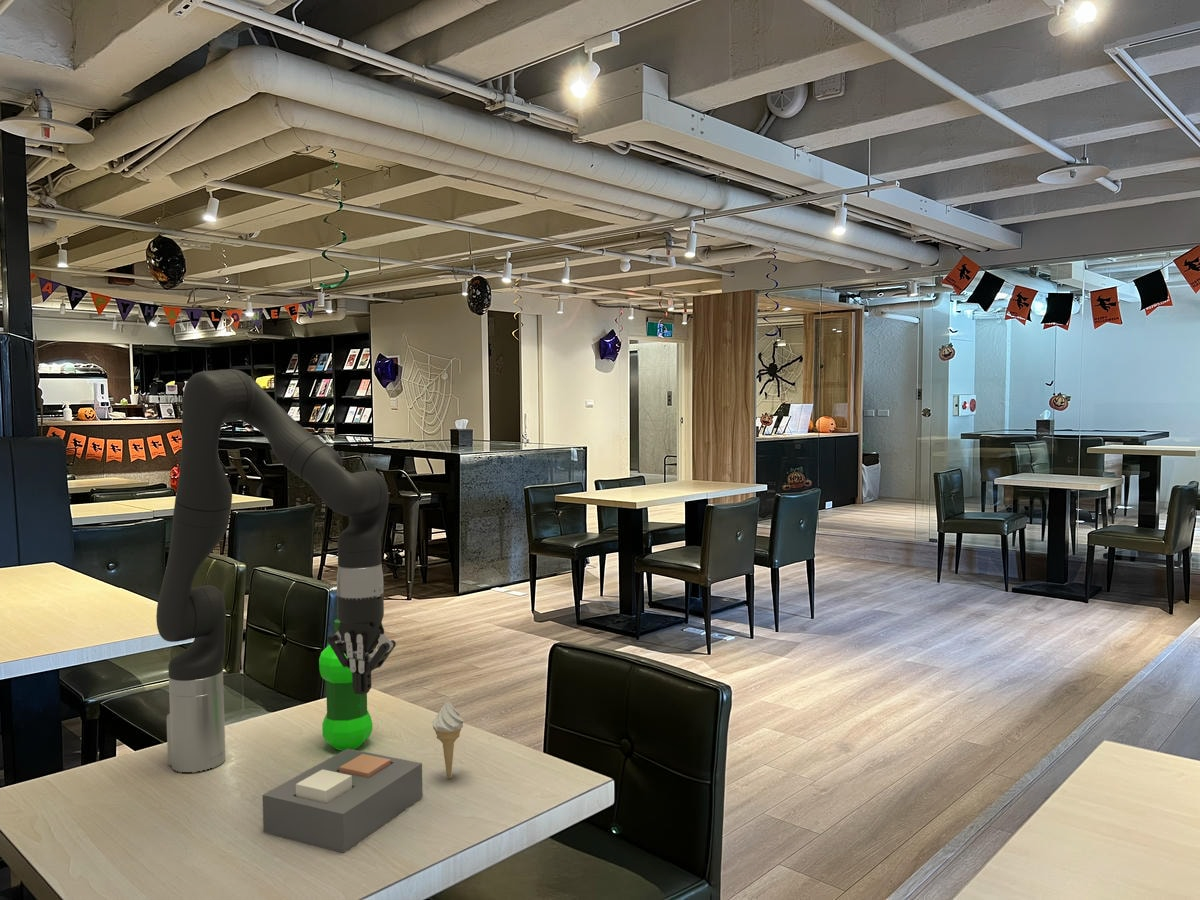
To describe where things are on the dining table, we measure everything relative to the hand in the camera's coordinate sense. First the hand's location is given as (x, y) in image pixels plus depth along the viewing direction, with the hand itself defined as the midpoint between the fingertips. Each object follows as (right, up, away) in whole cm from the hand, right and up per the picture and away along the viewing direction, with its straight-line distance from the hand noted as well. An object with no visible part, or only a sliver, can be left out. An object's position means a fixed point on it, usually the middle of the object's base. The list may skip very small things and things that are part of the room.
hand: (362, 692), depth 147 cm
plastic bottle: (-10, -18, +26) cm, 33 cm away
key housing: (-2, -19, -3) cm, 19 cm away
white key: (-4, -15, -8) cm, 17 cm away
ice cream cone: (+13, -19, +10) cm, 25 cm away
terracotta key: (0, -15, +1) cm, 15 cm away
